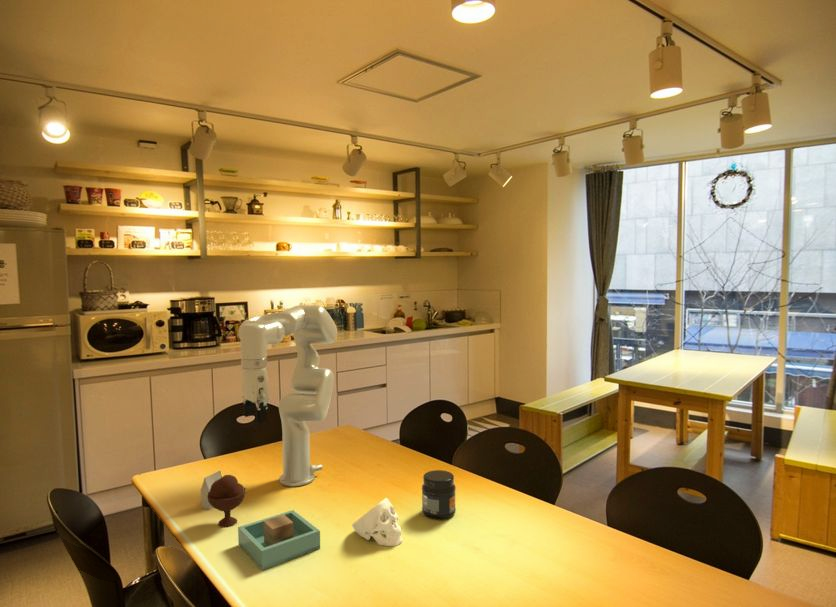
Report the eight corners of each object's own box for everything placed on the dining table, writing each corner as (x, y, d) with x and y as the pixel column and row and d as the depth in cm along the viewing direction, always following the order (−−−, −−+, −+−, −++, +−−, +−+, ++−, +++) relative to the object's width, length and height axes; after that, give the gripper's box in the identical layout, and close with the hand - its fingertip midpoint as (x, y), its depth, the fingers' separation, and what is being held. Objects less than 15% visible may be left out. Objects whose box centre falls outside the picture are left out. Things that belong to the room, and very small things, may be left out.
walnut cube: (284, 535, 149) (284, 514, 148) (293, 543, 144) (293, 522, 144) (264, 542, 145) (263, 521, 145) (273, 551, 140) (272, 529, 140)
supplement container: (460, 509, 167) (460, 472, 166) (448, 523, 157) (448, 484, 156) (430, 503, 171) (429, 467, 170) (416, 517, 161) (416, 478, 161)
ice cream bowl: (254, 517, 162) (252, 469, 161) (230, 534, 151) (228, 483, 151) (225, 512, 165) (224, 465, 165) (200, 528, 155) (198, 478, 154)
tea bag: (225, 501, 174) (224, 471, 173) (210, 509, 168) (209, 478, 167) (216, 499, 175) (215, 470, 175) (201, 507, 169) (200, 477, 169)
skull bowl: (396, 549, 140) (375, 506, 143) (361, 564, 147) (341, 522, 149) (416, 531, 149) (396, 491, 152) (382, 546, 156) (363, 508, 158)
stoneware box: (293, 526, 156) (292, 510, 156) (320, 548, 143) (319, 530, 143) (238, 544, 146) (238, 527, 145) (262, 570, 133) (261, 551, 133)
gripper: (277, 366, 156) (279, 423, 157) (255, 359, 170) (256, 411, 171) (253, 369, 152) (254, 427, 153) (231, 361, 165) (233, 415, 166)
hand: (255, 419), depth 162 cm, fingers open, 9 cm apart
